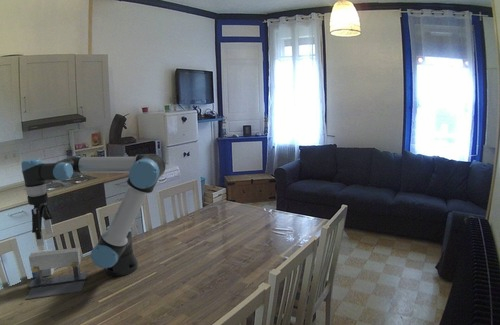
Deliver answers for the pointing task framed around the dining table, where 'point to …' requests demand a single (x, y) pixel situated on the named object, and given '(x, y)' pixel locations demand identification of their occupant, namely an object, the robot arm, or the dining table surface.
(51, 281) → the stand
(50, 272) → the ink box
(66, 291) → the mat
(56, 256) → the rail
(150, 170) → the robot arm
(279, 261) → the dining table surface
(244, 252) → the dining table surface
